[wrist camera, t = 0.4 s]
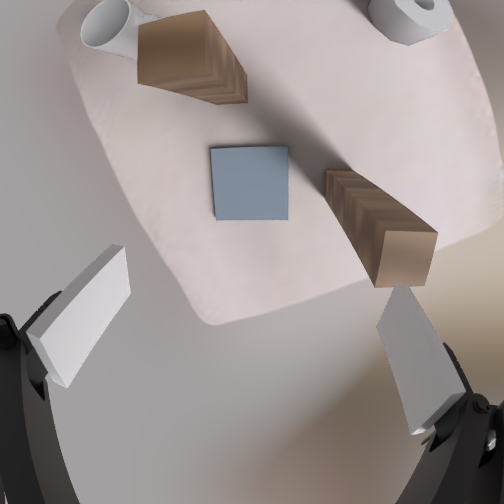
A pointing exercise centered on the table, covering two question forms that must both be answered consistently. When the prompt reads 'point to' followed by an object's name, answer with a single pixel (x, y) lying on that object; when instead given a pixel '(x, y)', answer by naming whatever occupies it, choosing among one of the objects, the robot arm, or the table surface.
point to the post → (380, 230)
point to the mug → (114, 27)
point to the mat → (250, 182)
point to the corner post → (190, 59)
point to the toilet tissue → (410, 19)
